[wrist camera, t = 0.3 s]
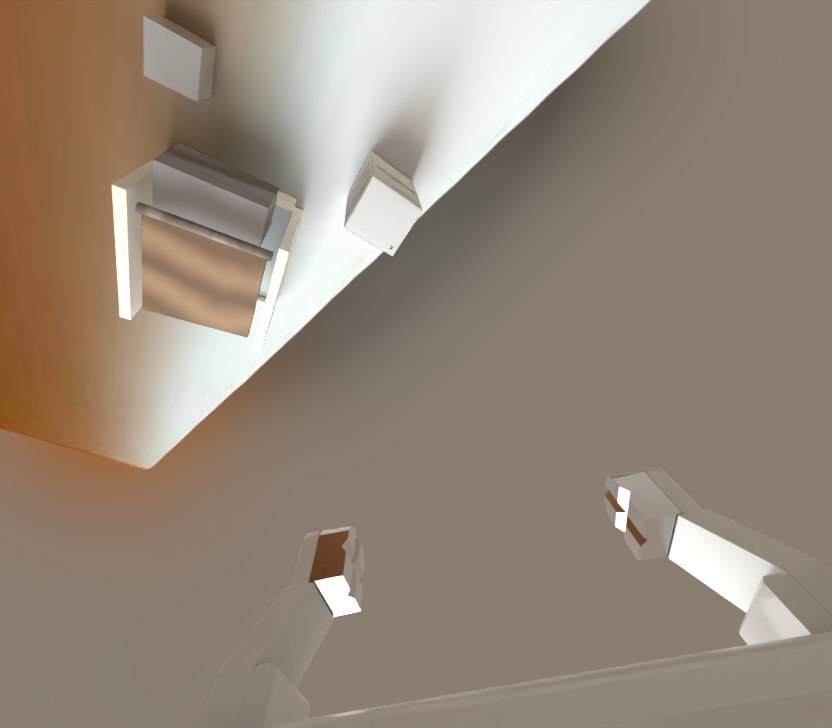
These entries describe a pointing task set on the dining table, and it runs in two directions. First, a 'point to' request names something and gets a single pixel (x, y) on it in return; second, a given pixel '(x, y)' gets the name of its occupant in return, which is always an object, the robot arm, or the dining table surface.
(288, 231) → the frame
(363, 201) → the supplement box
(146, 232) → the trapdoor
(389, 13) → the dining table surface
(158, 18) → the light grey cube
